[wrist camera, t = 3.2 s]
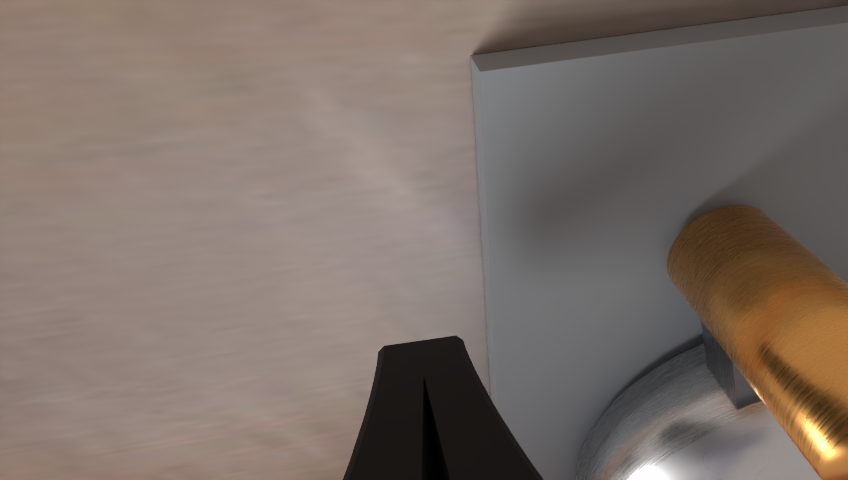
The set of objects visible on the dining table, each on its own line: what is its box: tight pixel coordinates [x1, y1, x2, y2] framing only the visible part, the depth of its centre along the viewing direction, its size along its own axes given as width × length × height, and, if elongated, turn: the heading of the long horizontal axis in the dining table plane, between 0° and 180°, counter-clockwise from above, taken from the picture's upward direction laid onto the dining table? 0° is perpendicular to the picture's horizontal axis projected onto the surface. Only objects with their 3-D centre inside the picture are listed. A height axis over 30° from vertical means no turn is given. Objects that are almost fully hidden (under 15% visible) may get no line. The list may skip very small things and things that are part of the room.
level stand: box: [470, 5, 848, 480], centre depth 14 cm, size 16×15×2 cm
